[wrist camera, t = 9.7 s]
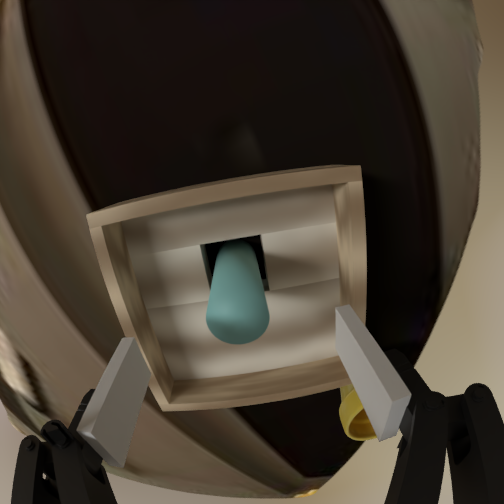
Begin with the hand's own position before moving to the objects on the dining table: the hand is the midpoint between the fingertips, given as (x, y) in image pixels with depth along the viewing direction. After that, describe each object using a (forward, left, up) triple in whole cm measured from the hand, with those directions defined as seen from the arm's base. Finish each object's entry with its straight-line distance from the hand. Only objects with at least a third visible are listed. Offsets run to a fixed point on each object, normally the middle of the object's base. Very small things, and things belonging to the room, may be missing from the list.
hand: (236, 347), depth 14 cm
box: (+3, 0, -15) cm, 16 cm away
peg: (0, 0, -15) cm, 15 cm away
